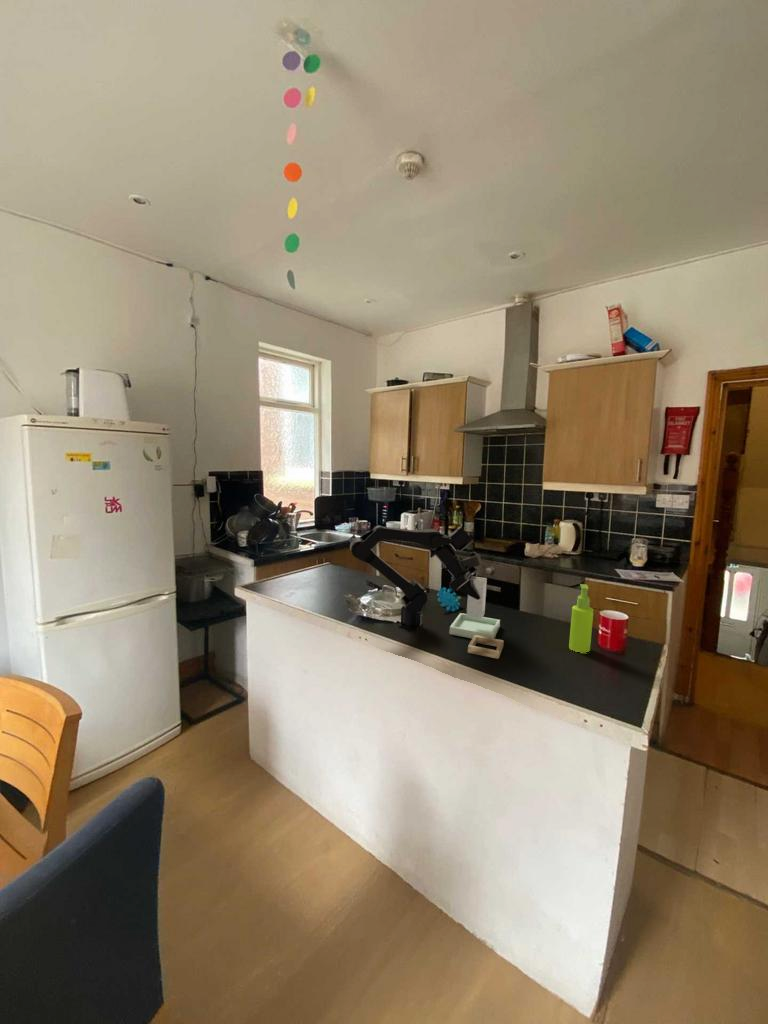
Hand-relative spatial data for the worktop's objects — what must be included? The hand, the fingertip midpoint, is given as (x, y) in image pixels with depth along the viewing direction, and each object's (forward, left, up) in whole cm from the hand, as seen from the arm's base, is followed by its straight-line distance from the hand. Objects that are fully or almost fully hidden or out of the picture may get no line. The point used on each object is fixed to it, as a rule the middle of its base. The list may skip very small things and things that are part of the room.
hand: (480, 596), depth 141 cm
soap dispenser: (+31, +1, -12) cm, 33 cm away
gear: (-15, +17, -12) cm, 25 cm away
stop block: (-1, 0, -7) cm, 7 cm away
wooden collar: (+5, -13, -12) cm, 18 cm away
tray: (-1, 0, -12) cm, 12 cm away
